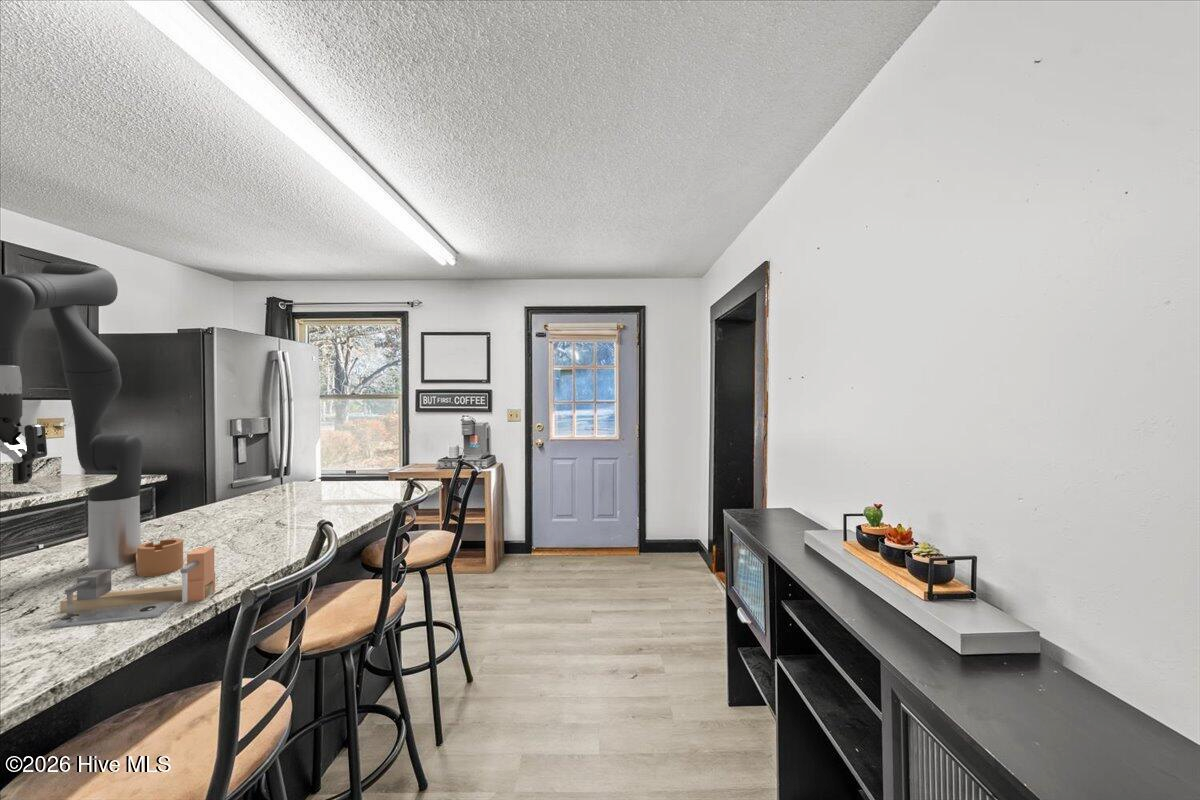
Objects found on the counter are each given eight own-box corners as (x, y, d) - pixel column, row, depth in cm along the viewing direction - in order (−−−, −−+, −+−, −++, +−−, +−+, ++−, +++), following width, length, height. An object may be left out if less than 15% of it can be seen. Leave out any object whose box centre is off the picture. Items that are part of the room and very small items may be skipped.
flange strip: (73, 616, 93) (73, 610, 93) (174, 605, 97) (174, 600, 97) (48, 630, 87) (48, 624, 87) (157, 618, 92) (157, 613, 92)
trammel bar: (74, 605, 97) (74, 571, 97) (214, 591, 104) (214, 560, 104) (37, 626, 88) (37, 589, 88) (192, 609, 95) (192, 575, 95)
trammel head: (198, 591, 104) (198, 547, 104) (215, 590, 105) (215, 546, 104) (174, 610, 95) (174, 561, 95) (192, 608, 95) (192, 560, 95)
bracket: (185, 571, 117) (185, 543, 117) (138, 580, 111) (138, 551, 111) (177, 554, 129) (177, 529, 129) (135, 561, 123) (135, 535, 123)
